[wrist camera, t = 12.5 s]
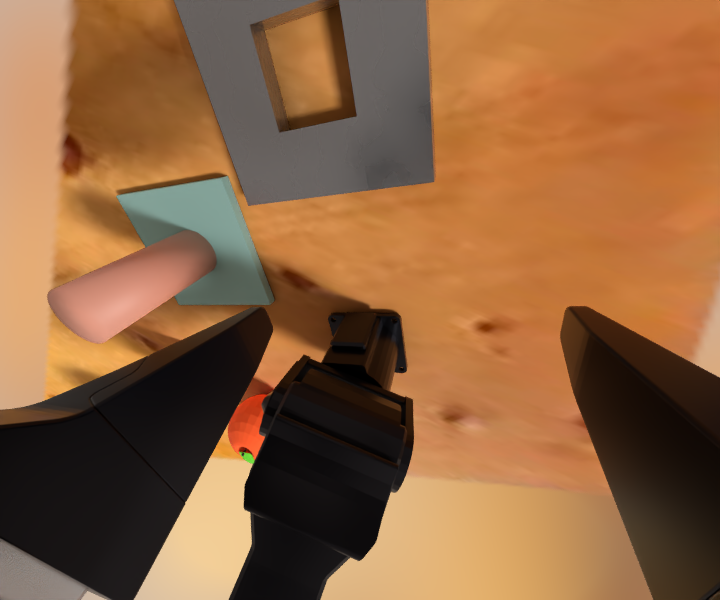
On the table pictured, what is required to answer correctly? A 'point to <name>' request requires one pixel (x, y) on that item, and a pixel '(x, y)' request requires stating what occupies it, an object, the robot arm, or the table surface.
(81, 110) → the table surface
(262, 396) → the clementine
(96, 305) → the pink rounded cylinder
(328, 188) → the grey square hole plate
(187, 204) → the rubber mat
